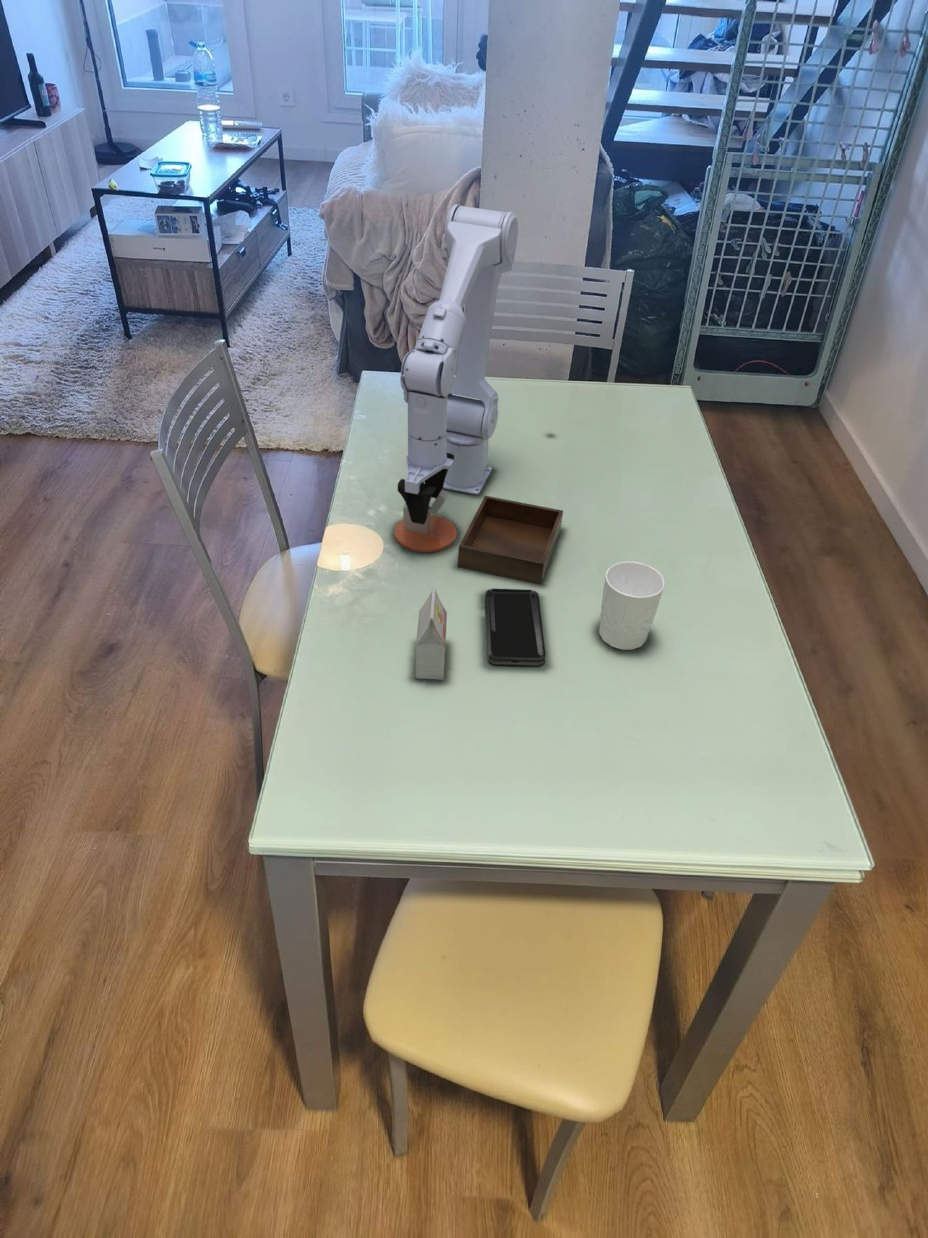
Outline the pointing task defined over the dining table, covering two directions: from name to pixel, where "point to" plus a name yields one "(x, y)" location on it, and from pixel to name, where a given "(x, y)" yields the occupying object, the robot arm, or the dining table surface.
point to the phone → (514, 627)
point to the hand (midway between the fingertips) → (426, 509)
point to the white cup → (629, 604)
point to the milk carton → (431, 639)
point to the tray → (510, 539)
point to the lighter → (431, 510)
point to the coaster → (427, 536)
